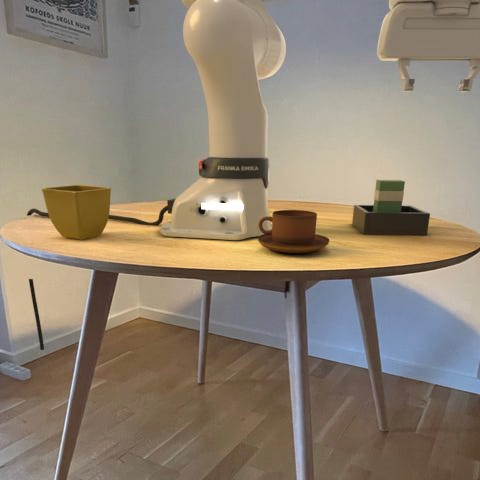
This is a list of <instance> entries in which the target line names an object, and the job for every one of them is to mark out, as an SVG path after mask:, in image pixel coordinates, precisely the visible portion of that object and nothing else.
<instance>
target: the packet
mask: <svg viewBox="0 0 480 480" xmlns="http://www.w3.org/2000/svg"><path fill="white" fill-rule="evenodd" d="M405 185H406V181H405V180H401V179H376V180H375V188H374V195H373V205H374V206H373V212H398V213H401V208H402V206H403V201H404V195H405V194H404V193H405Z"/></svg>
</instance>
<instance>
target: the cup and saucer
mask: <svg viewBox="0 0 480 480" xmlns="http://www.w3.org/2000/svg"><path fill="white" fill-rule="evenodd" d="M271 215H272V216H270V215H269V216H270V217H269V216H266V217H263V218H261V219H260V221H259V229H260V231H261V232H262V233H264V234H263V235H260V236H257V241H258V243H259V244H260V245H261V246H262V247H264V248H266V249H268V250H271V251H274V252H280V253H285V254H286V253H287V254H304V253H305V254H306V253H312V252H317V251H320V250H322V249H324V248H326V247H327V246H328V245H329V243H330V238H328V237H327V236H324V235H322V234H317V233H316V231H317V220H318V213H317V212H315V211H311V210H303V209H302V210H301V209H280V210H275V211H274V210H273V212H272V214H271ZM266 220H269V221H271V226H272V229H271V230H268V231H266V230H264V229H263V227H262V224H263V222H264V221H266Z"/></svg>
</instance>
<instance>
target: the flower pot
mask: <svg viewBox="0 0 480 480" xmlns="http://www.w3.org/2000/svg"><path fill="white" fill-rule="evenodd" d="M41 191H42V194H43V199H44V203H45V207H46V210H47V213H48V214H49V217H48V218H49V219H50V222H51V223H52V225H53V227H54V228H55V230H56V231H57V232H58V233H59V235H60V236H61V237H62V238H69V239H74V240H80V241H84V240H86V239H91V238H97V237H100V236H101V235H102V234H103V233H104V230H105V228H106V226H107V224H108V221H109V219H108V218H109V215H110V211H111V210H110V209H111V193H112V188H111V187H107V186H106V187H105V186H96V185H85V184H84V185H83V184H72V185H61V186H60V185H59V186H51V187H43V188H41Z"/></svg>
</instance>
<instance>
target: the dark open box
mask: <svg viewBox="0 0 480 480" xmlns="http://www.w3.org/2000/svg"><path fill="white" fill-rule="evenodd" d="M373 206H374V204H354V205H353V210H352V211H353V213H352V222H351V225H352V226H353V227H354V228H356V230H358V232H360V233H361V234H362V235H375V236H377V235H378V236H379V235H381V236H382V235H383V236H428V230H429V223H430V218H431V217H430V216H431V213H430V212H428V211H425V210H423V209H421V208H418V207H416V206H413V205H402V208H401V213H398V212H373Z"/></svg>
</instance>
